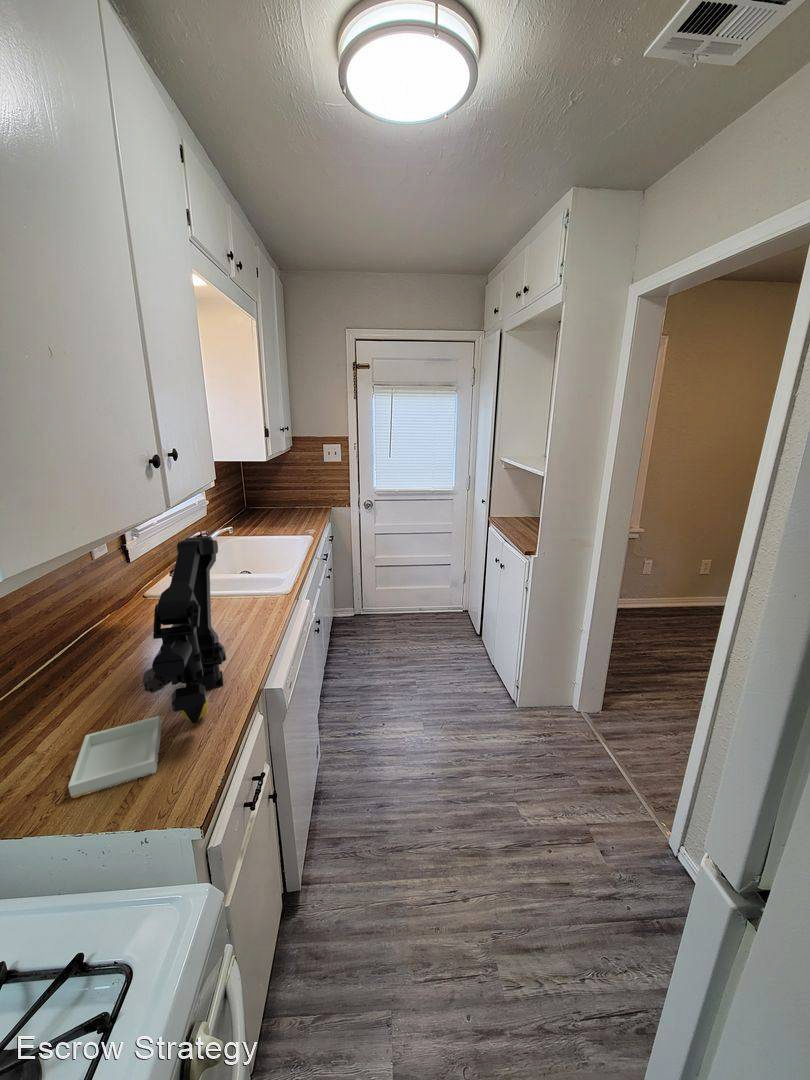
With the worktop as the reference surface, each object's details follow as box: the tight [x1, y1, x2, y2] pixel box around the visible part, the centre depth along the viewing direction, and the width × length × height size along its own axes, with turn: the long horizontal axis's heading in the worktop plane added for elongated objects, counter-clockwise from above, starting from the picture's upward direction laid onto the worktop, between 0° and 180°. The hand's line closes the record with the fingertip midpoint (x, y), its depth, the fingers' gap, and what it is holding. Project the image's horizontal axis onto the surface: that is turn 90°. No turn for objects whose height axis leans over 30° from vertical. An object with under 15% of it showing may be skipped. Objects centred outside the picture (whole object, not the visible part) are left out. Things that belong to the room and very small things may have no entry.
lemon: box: [180, 697, 209, 722], centre depth 96 cm, size 6×6×8 cm
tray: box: [67, 715, 162, 798], centre depth 86 cm, size 14×14×3 cm
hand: (195, 709), depth 96 cm, fingers open, 9 cm apart
